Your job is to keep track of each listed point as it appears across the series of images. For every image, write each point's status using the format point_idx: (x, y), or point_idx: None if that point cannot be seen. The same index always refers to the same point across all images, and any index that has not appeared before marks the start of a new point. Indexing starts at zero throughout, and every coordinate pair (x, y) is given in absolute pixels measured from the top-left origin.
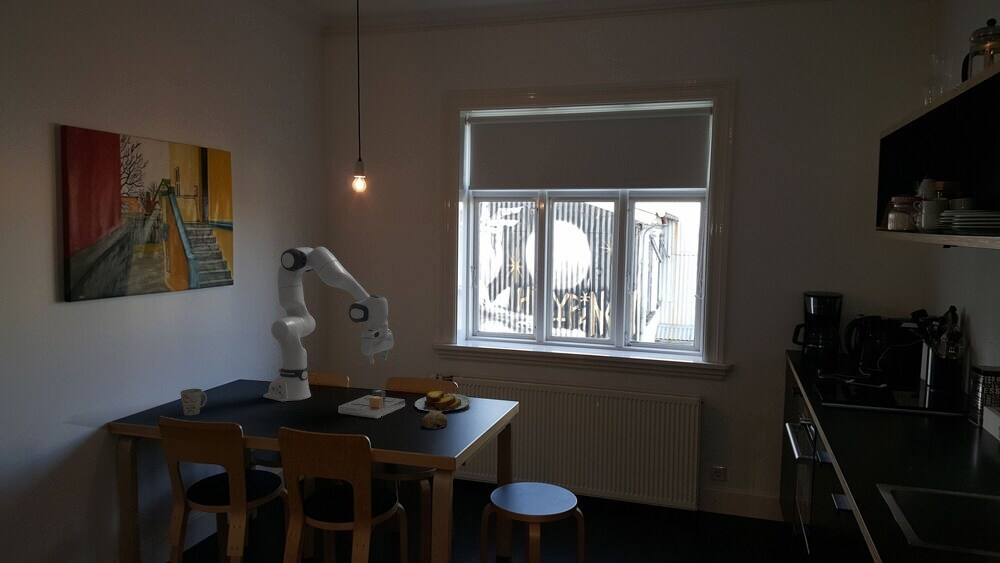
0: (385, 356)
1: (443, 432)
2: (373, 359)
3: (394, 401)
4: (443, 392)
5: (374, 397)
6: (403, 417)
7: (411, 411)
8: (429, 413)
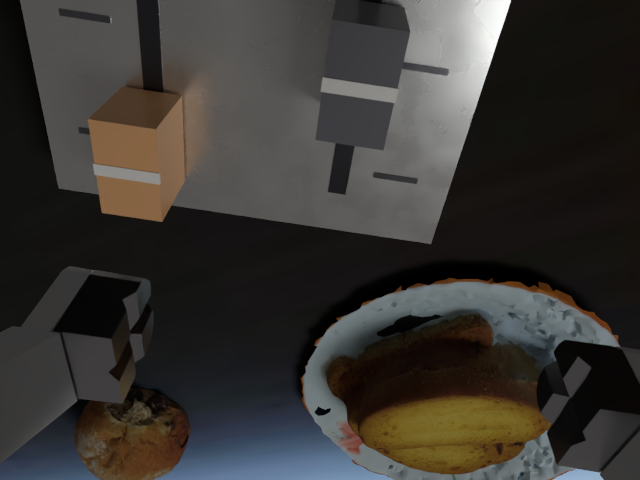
0: (576, 467)
1: None
2: (59, 411)
3: (355, 197)
4: (518, 440)
5: (115, 161)
6: (183, 285)
7: (312, 285)
8: (90, 461)
